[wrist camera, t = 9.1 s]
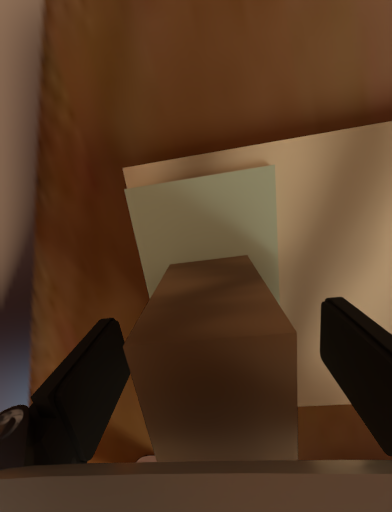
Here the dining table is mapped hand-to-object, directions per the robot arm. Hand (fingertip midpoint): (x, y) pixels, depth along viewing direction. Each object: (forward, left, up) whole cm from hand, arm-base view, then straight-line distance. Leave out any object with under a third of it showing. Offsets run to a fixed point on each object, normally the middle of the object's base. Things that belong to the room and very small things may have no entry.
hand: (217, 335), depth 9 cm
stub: (0, 0, -2) cm, 2 cm away
